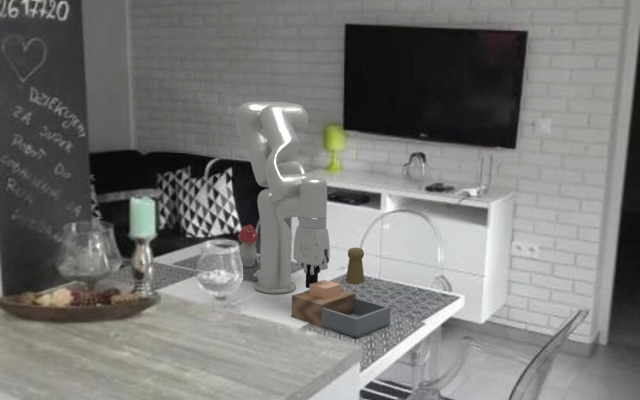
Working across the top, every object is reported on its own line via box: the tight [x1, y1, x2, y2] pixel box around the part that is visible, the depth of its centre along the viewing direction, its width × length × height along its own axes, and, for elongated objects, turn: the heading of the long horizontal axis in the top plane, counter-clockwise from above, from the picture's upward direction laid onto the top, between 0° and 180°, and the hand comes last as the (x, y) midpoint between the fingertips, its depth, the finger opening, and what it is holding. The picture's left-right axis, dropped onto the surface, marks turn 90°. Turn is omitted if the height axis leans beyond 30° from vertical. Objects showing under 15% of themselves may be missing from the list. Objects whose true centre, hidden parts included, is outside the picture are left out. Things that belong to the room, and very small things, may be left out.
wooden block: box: [291, 288, 357, 327], centre depth 197 cm, size 11×14×6 cm
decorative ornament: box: [238, 224, 258, 268], centre depth 246 cm, size 9×6×15 cm
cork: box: [345, 247, 365, 285], centre depth 230 cm, size 6×6×11 cm
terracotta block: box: [308, 279, 341, 299], centre depth 196 cm, size 6×6×3 cm
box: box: [320, 296, 391, 339], centre depth 189 cm, size 12×14×5 cm
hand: (311, 287), depth 199 cm, fingers closed
